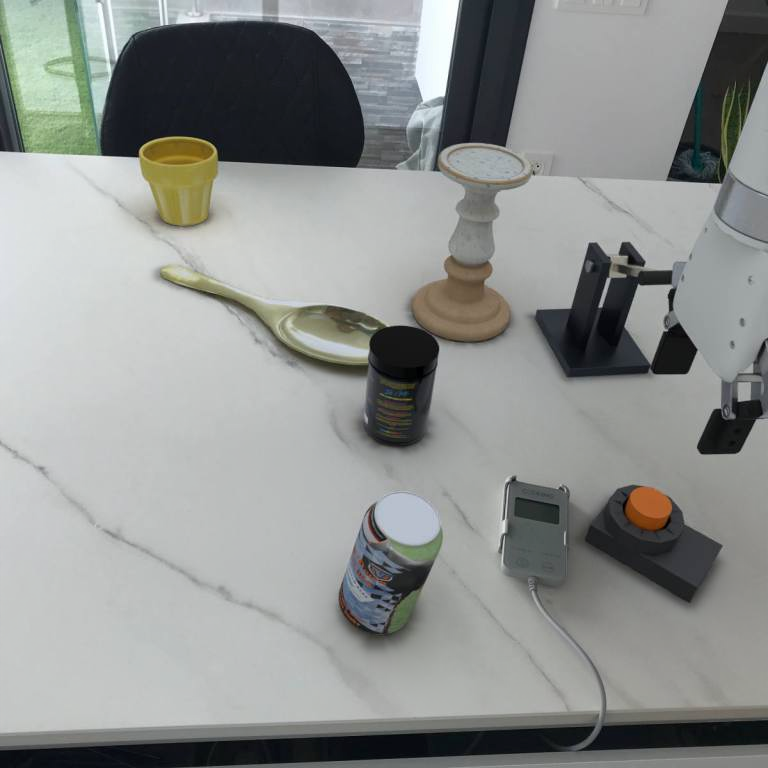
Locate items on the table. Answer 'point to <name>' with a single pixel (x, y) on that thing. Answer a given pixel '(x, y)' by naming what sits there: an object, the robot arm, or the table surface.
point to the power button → (648, 508)
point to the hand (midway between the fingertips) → (691, 409)
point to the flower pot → (180, 177)
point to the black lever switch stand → (596, 321)
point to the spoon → (298, 320)
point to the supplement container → (400, 384)
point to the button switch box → (655, 546)
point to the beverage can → (390, 562)
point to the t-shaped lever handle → (637, 271)
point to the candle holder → (471, 245)
